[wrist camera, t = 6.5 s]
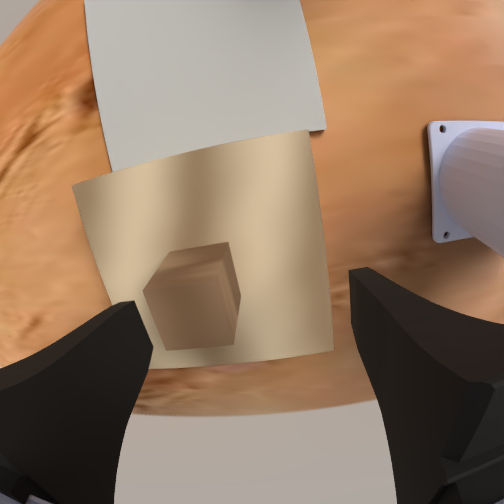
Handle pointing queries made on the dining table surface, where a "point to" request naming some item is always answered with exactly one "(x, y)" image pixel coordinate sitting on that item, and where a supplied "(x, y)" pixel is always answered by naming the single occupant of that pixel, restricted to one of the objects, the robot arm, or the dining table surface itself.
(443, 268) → the dining table surface
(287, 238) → the oak lid
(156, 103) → the rubber mat
